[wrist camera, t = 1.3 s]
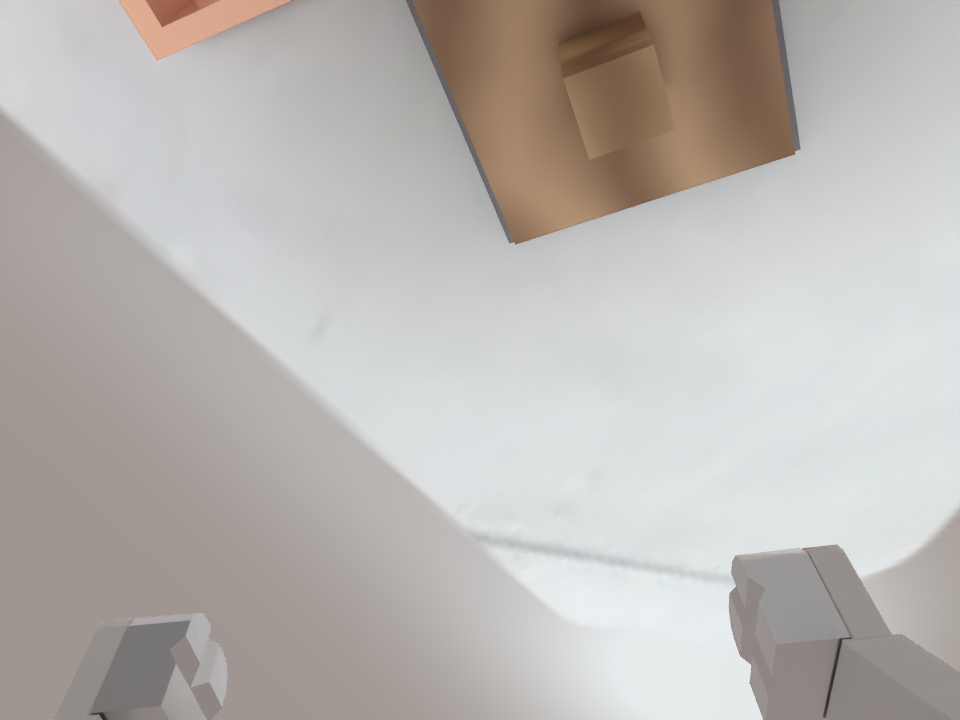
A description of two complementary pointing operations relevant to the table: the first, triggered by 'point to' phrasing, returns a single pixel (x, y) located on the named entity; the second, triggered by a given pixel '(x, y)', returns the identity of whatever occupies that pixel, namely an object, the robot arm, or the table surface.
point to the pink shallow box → (189, 20)
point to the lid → (609, 98)
